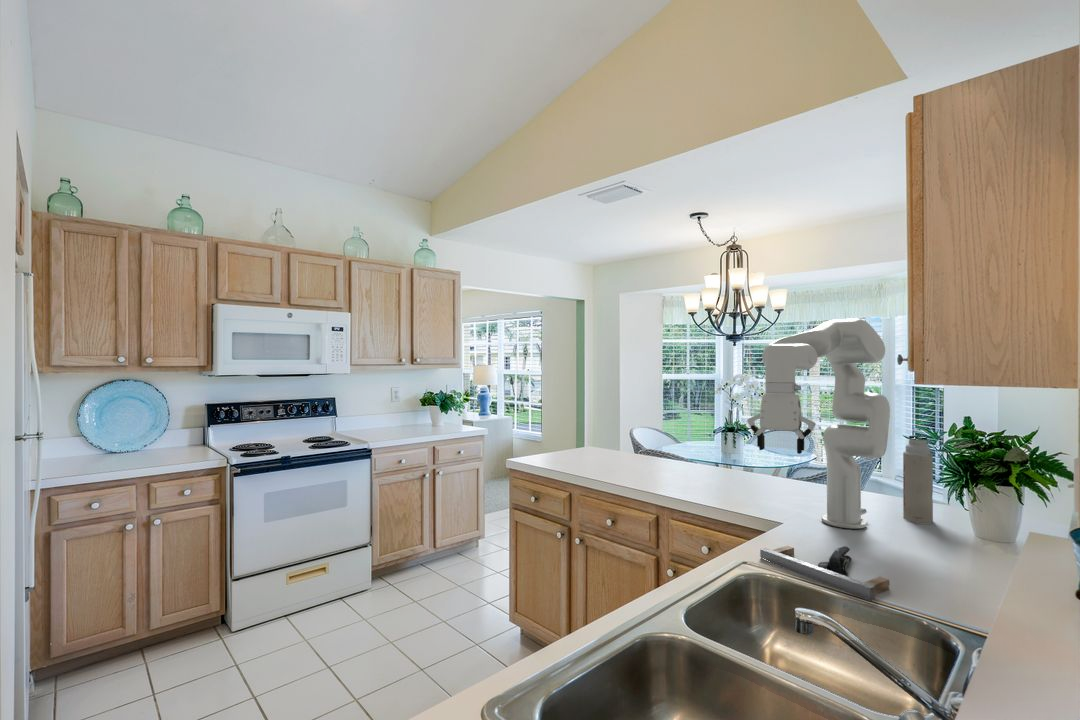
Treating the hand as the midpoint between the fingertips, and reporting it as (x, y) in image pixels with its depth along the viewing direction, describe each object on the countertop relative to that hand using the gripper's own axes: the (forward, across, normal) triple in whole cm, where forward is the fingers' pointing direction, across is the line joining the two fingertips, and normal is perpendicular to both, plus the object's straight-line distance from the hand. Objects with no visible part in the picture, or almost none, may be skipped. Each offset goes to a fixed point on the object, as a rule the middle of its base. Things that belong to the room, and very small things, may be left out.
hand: (780, 451), depth 146 cm
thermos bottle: (+28, -31, -58) cm, 72 cm away
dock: (+28, -12, +9) cm, 32 cm away
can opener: (+29, -14, +2) cm, 32 cm away
